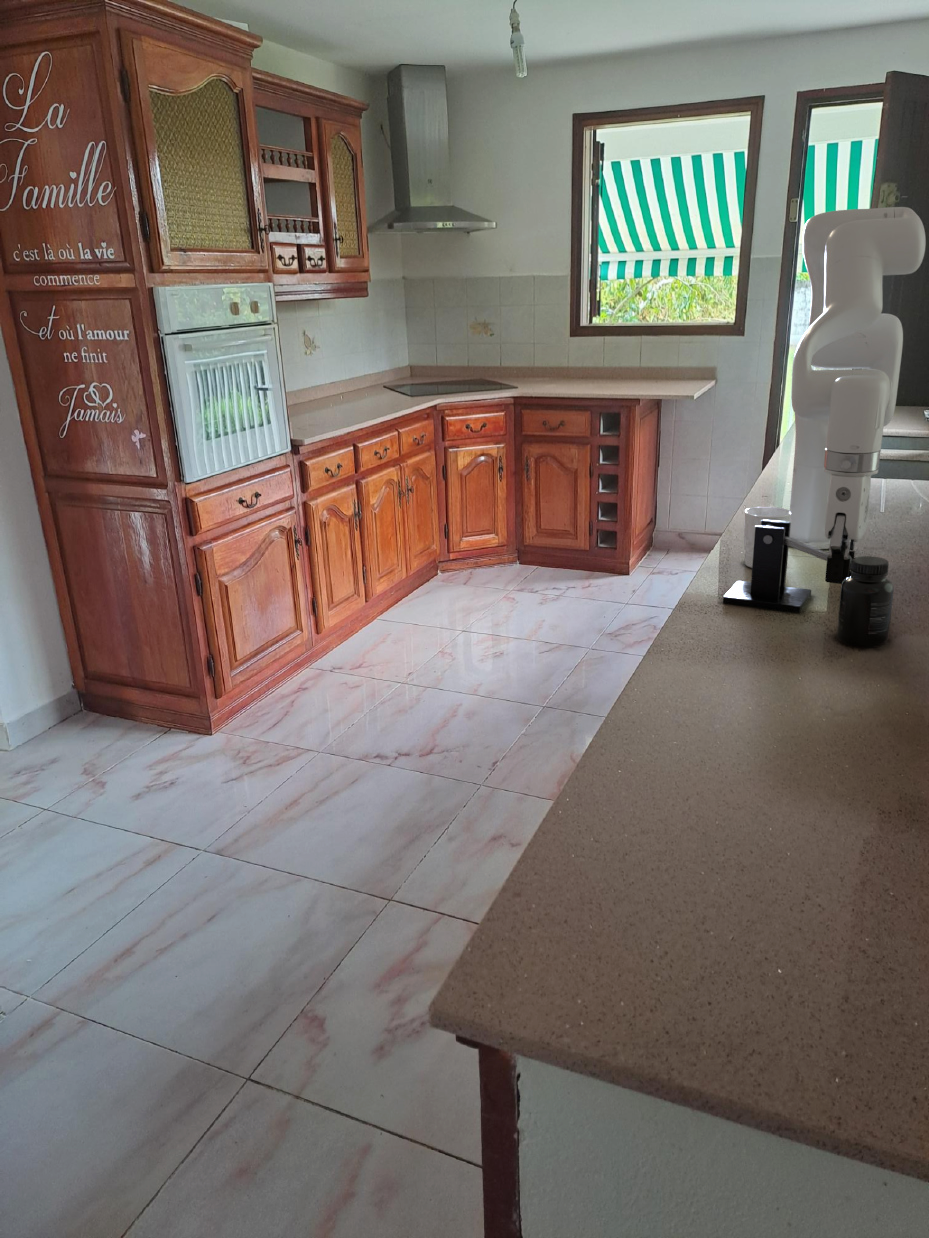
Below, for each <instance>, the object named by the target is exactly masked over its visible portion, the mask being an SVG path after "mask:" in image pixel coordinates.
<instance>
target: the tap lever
mask: <svg viewBox="0 0 929 1238" xmlns="http://www.w3.org/2000/svg"><path fill="white" fill-rule="evenodd" d="M766 526H771V527H776V526H774V525H771V524H767V525H766ZM784 544H785V545H788V546H789V547H790V548H793V549H796V550H798V551H800V552H803V553H805V554H808V555H810V556H813V557H816V558H818V559H820V560H823V561H825V562H827V557H828V555H829V552H827V551H825V550H823V549H817V548H815V547H812V546H810V545H807V544H805V543H802V542H799V541H797V540H794V539H792V538H789V537H787V536H785V538H784ZM848 559H850V566H849V569H850V568H851V560H852V558H851V556H850V555H849V557H848Z"/></svg>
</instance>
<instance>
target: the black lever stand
mask: <svg viewBox="0 0 929 1238" xmlns="http://www.w3.org/2000/svg"><path fill="white" fill-rule="evenodd" d="M767 524H771V525H774V526H776V527H771V526H766V525H767ZM790 526H791V522H788V521H777V520H765V519H763V520H762V521H761V526H760V525H757V526H756V527H755V538H754V551H753V565H752V568H751V580H750V581H745V580H743V581H742V580H737V581H736V582H735V583H734V584H733V585H732V586H731V588H729V590H728V591H727V592H726V593H725V594H724V595H723V596H722V604H725V605H726V604H727V605H732V606H741V607H747V608H755V609H761V610H769V611H778V612H785V613H791V614H792V613H793V614H798V615H799V614H801V612H802V611H803V609H804V607H805V606H806V604H807V603H808V601H809V600H810V598H811V597H812V589H810V588H809V589H808V588H802V587H793V586H792V587H791V586H786V581H787V572H788V571H787V570H788V559H789V549H790V548H789V547H790V546H788V545H785V544H784V538H785V536H787V537H789V538H790Z"/></svg>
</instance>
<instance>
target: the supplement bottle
mask: <svg viewBox="0 0 929 1238" xmlns="http://www.w3.org/2000/svg"><path fill="white" fill-rule="evenodd" d="M889 564H890V563H889V561H888V560H887V559H886V558H883V557H880V556H870V555H862V556H854V558H853V559H852V560H851V568H850V573H851V575H850V576H848V577H846V578H845V579H844V580H843V582H842V584H840V585H841V586H840V593H839V594H840V595H839V606H838V615H837V626H836V627H837V628H836V637H837V639H838V641H840V642H841V643H843V644H845V645H847V646H851V647H855V648H861V649H862V648H863V649H869V648H870V649H872V648H873V649H874V648H878V647H882V646H884V645H886V644H887V643H888V641H889V635H890V628H891V627H890V626H891V619H892V611H893V610H892V608H893V601H894V590H895V586H894V583H893V582H892V581H891V580H890V579H889V578H888V577H887V576H888V575H889Z"/></svg>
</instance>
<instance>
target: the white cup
mask: <svg viewBox="0 0 929 1238" xmlns="http://www.w3.org/2000/svg"><path fill="white" fill-rule="evenodd" d="M790 516H791V512H790V509H787V508H784V507H778V506H753V507H749V508H746V509H745V510H744V529H743V531H744V532H743V534H744V535H743V542H744V543H743V544H744V547H743V549H744V565H745V566H747V567H748V568H751V569H752V565H753V551H754V538H755V527H756V526H757V525H760V526H761V521H762V520H763V519H765V520H777V521H788V522H790Z"/></svg>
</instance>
